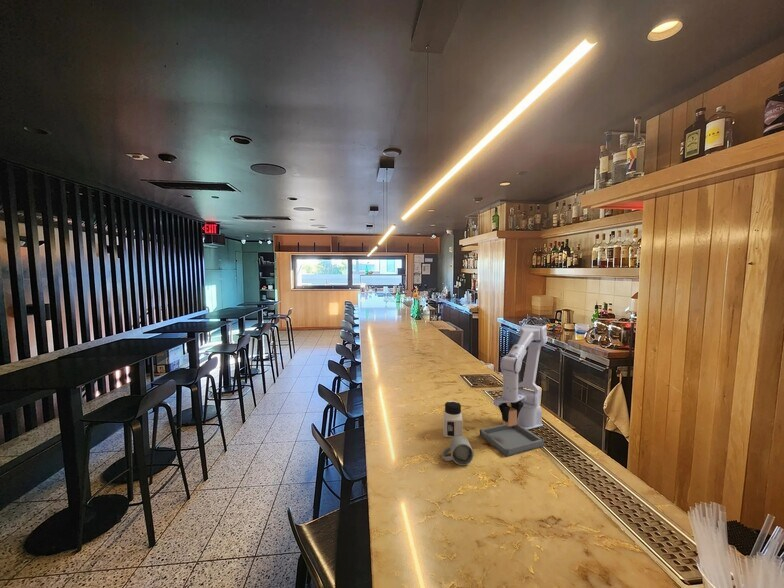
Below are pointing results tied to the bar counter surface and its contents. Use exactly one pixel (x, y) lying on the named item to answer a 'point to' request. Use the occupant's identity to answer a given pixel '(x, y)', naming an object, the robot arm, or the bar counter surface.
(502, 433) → the charcoal tray
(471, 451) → the ceramic mug
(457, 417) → the container
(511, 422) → the terracotta block
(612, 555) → the bar counter surface
